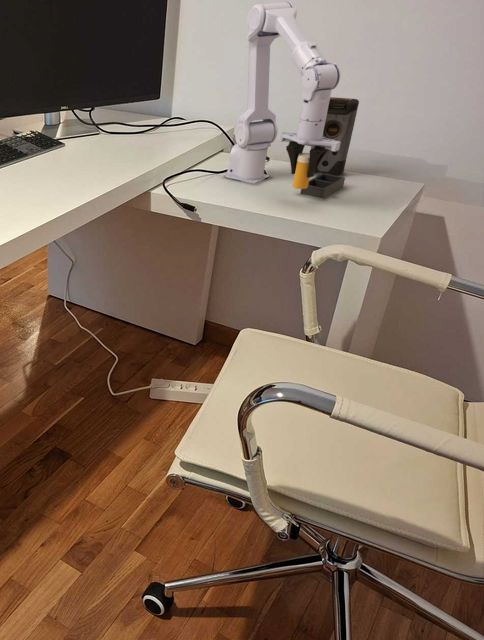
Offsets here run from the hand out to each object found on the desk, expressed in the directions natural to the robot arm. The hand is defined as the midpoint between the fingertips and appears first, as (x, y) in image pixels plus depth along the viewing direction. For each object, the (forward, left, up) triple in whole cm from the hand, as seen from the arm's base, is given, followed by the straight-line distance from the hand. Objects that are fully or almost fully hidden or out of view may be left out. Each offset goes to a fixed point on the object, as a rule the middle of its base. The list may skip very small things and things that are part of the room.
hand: (302, 174), depth 165 cm
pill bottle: (0, 0, -3) cm, 3 cm away
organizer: (0, +13, -8) cm, 15 cm away
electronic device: (-6, +27, -8) cm, 28 cm away
